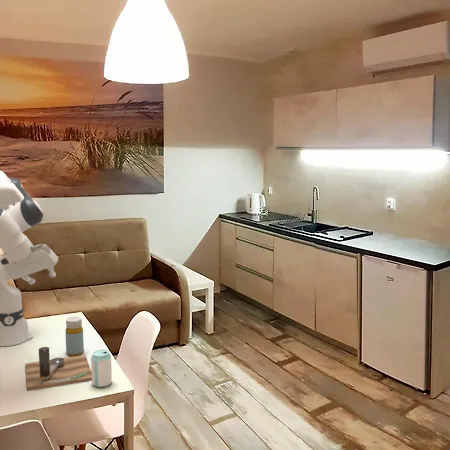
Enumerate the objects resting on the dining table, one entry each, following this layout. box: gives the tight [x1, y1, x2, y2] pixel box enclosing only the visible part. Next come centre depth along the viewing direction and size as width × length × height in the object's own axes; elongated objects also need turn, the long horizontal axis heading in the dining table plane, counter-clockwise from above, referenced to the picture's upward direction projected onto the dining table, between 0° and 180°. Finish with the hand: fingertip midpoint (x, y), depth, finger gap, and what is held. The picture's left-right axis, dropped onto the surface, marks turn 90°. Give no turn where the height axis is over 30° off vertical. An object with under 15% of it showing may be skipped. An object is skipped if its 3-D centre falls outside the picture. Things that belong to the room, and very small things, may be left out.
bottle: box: [65, 316, 85, 357], centre depth 215 cm, size 7×7×15 cm
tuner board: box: [24, 354, 92, 392], centre depth 198 cm, size 22×23×1 cm
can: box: [90, 349, 113, 388], centre depth 189 cm, size 7×7×12 cm
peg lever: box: [38, 346, 64, 380], centre depth 194 cm, size 18×5×12 cm, turn 177°
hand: (43, 279), depth 189 cm, fingers open, 8 cm apart
